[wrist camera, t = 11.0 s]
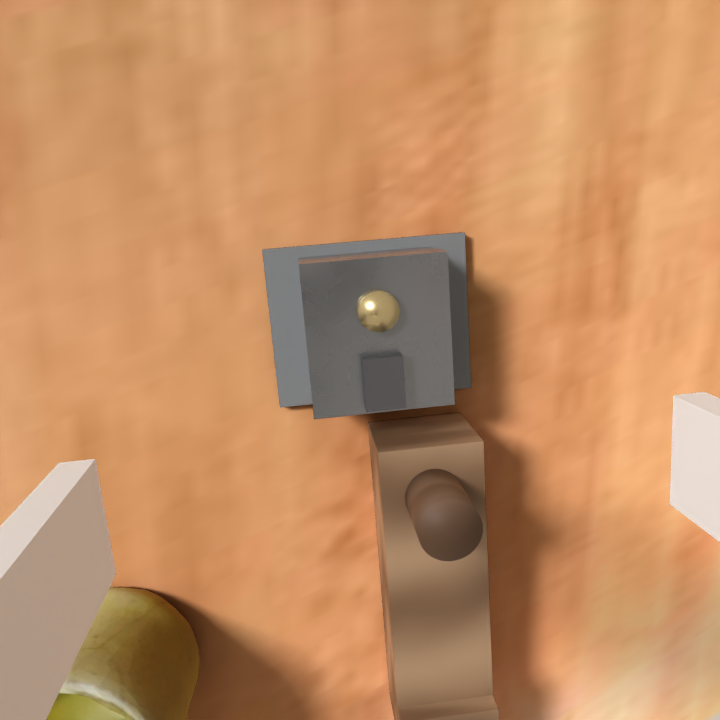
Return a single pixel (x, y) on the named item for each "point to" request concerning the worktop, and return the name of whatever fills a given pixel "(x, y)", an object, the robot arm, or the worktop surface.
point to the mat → (290, 315)
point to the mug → (132, 663)
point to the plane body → (433, 566)
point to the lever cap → (378, 331)
